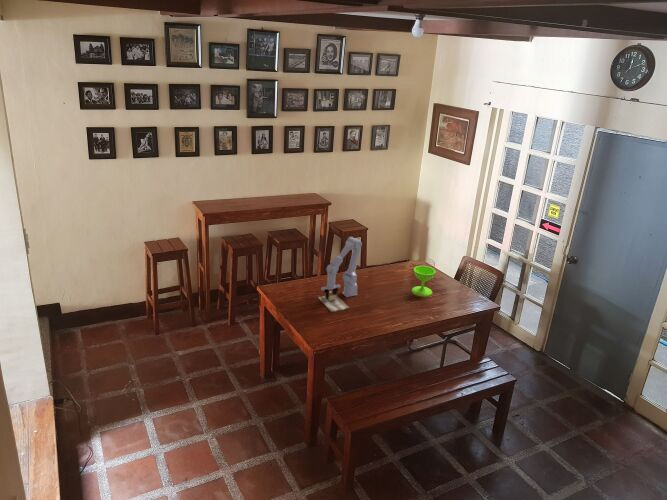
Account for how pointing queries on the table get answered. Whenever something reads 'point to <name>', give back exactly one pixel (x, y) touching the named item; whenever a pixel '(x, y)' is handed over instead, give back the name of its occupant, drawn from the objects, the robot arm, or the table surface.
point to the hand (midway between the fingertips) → (330, 297)
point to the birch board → (334, 304)
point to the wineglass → (423, 280)
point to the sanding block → (331, 296)
